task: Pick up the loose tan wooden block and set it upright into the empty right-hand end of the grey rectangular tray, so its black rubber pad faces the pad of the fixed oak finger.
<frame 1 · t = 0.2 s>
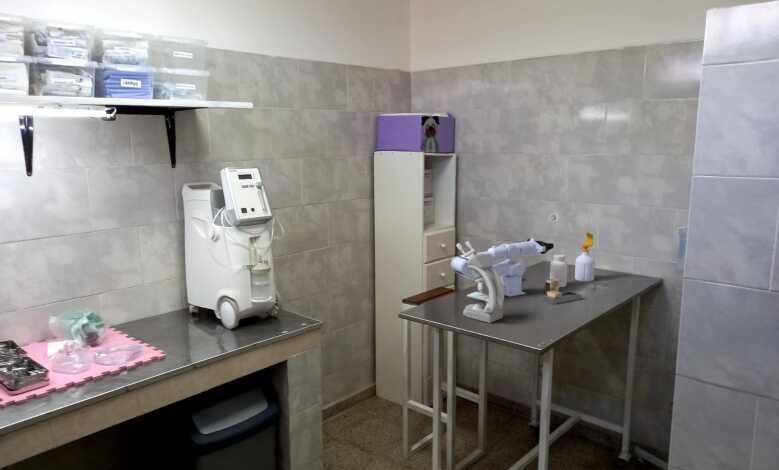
hand: (547, 244, 263), 21 cm above the table, tool horizontal, fingers open, 7 cm apart
medicine box: (504, 281, 281), on the table
tan wooden block: (552, 292, 259), on the table
pill bottle: (558, 285, 271), on the table
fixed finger: (554, 295, 245), in the grey rectangular tray, point 2 cm above the table
microscope: (479, 316, 227), on the table
soap bottle: (584, 279, 280), on the table
grey rectangular tray: (562, 299, 247), on the table
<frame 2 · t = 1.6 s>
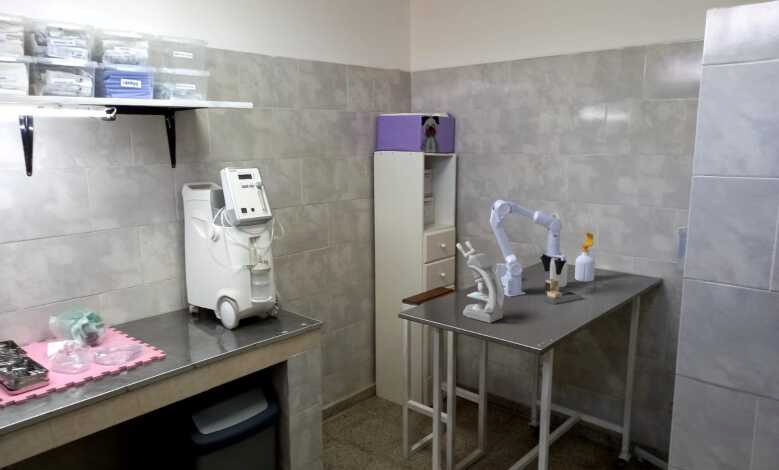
hand: (552, 272, 257), 9 cm above the table, tool pointing down, fingers open, 7 cm apart
nothing on the table moved.
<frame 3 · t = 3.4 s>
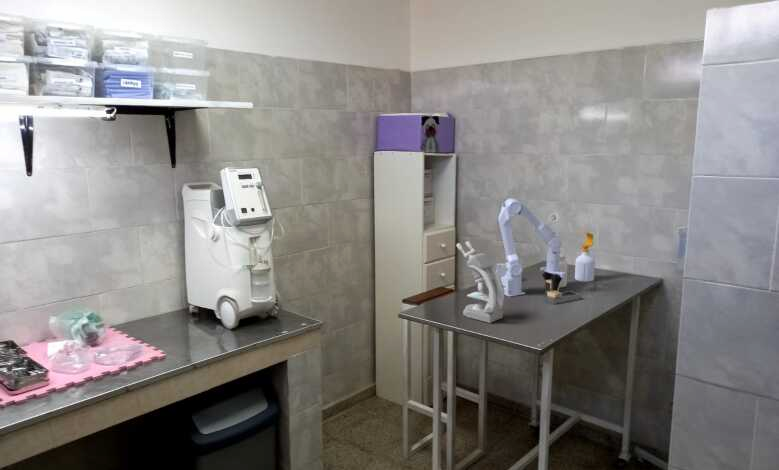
hand: (552, 289, 258), 2 cm above the table, tool pointing down, fingers closed on tan wooden block, 3 cm apart
tan wooden block: (552, 292, 259), on the table, touching gripper
everything else where it was.
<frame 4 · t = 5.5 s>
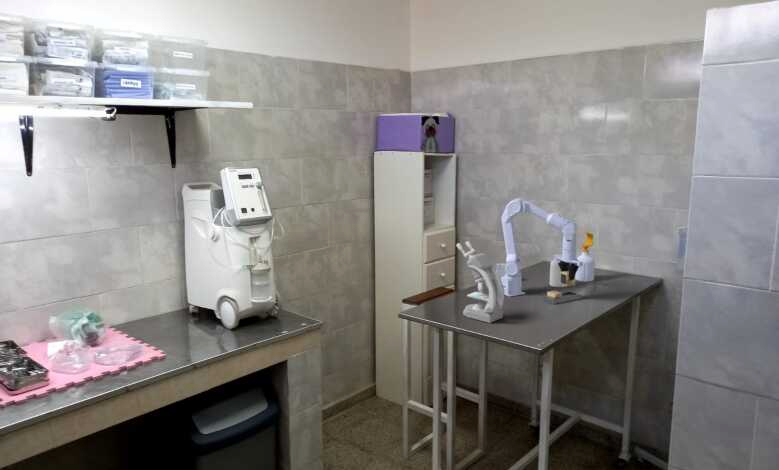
hand: (568, 279, 248), 9 cm above the table, tool pointing down, fingers closed on tan wooden block, 3 cm apart
tan wooden block: (567, 284, 248), point 6 cm above the table, touching gripper
everything else where it was.
when the fingers open (3 cm above the table, at t = 7.7 s): tan wooden block stays where it is, resting on grey rectangular tray.
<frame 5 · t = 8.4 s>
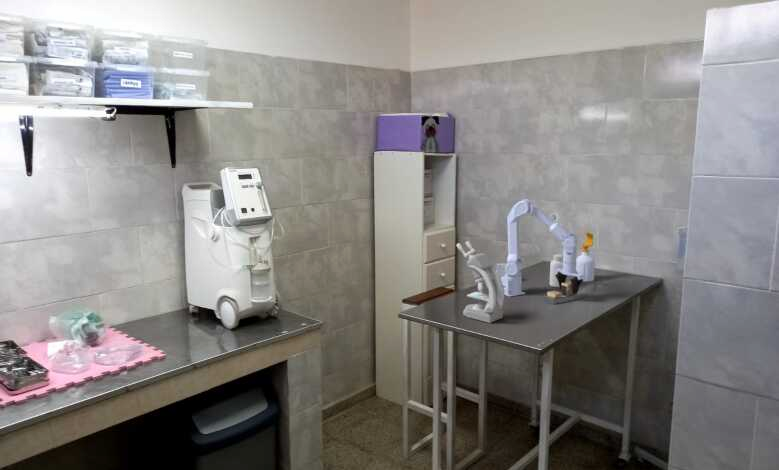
hand: (568, 291, 248), 3 cm above the table, tool pointing down, fingers open, 7 cm apart
tan wooden block: (568, 296, 249), point 1 cm above the table, touching grey rectangular tray
everything else where it was.
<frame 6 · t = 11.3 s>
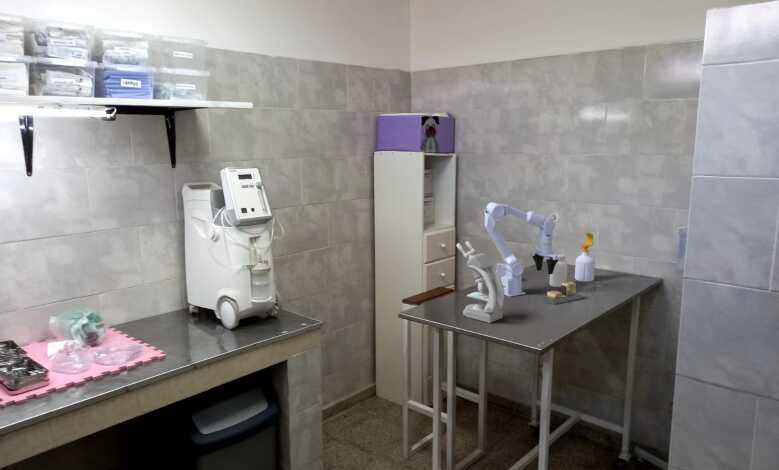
hand: (544, 272, 259), 9 cm above the table, tool pointing down, fingers open, 7 cm apart
nothing on the table moved.
at the end: tan wooden block 0.1 cm from the target spot on the grey rectangular tray, point 1.1 cm above the grey rectangular tray's base; tan wooden block tilted 0°; the gripper is holding nothing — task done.
